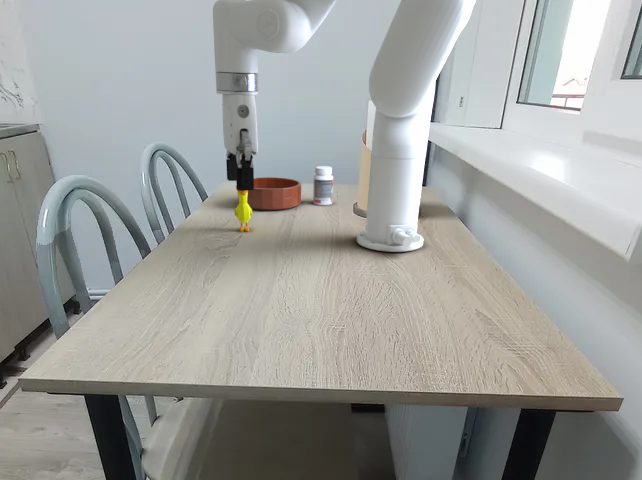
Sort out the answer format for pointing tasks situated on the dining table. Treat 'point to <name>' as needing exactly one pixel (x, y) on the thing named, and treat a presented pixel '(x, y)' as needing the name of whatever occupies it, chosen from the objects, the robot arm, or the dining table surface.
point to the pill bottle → (323, 186)
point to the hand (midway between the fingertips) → (240, 185)
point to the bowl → (274, 193)
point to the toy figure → (243, 210)
